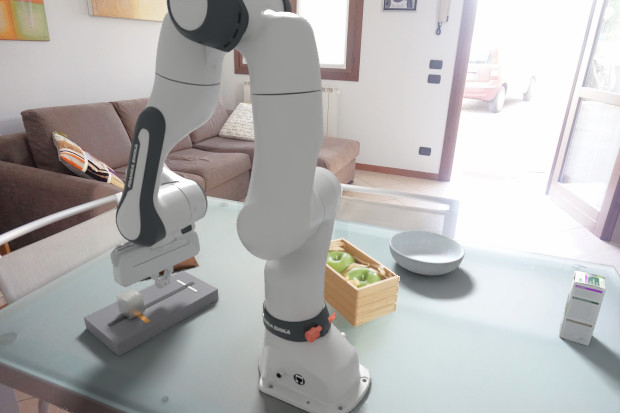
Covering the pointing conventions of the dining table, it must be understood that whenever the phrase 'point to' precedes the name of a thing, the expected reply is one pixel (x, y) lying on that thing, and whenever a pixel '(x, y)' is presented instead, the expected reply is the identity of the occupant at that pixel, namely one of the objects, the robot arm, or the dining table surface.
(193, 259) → the sunglasses case
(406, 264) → the serving bowl
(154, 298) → the fader console
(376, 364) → the dining table surface
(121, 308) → the fader tab
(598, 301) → the syrup box
